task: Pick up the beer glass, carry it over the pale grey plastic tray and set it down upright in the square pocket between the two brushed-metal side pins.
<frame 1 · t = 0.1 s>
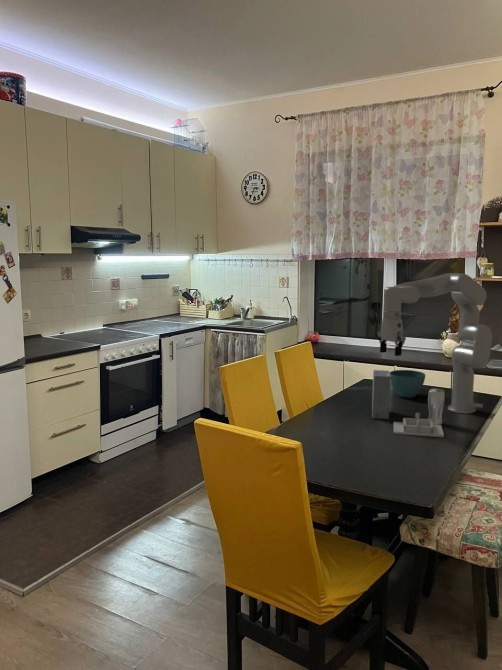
hand: (390, 353, 245), 31 cm above the table, tool pointing down, fingers open, 9 cm apart
tray: (417, 430, 238), on the table
hard drive box: (380, 415, 262), on the table
teal bowl: (406, 396, 297), on the table
beer glass: (435, 423, 248), on the table
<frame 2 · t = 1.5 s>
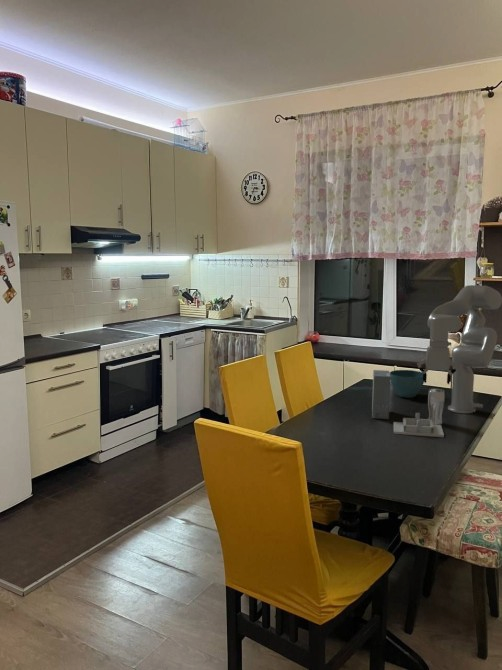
hand: (436, 382, 245), 18 cm above the table, tool pointing down, fingers open, 9 cm apart
nothing on the table moved.
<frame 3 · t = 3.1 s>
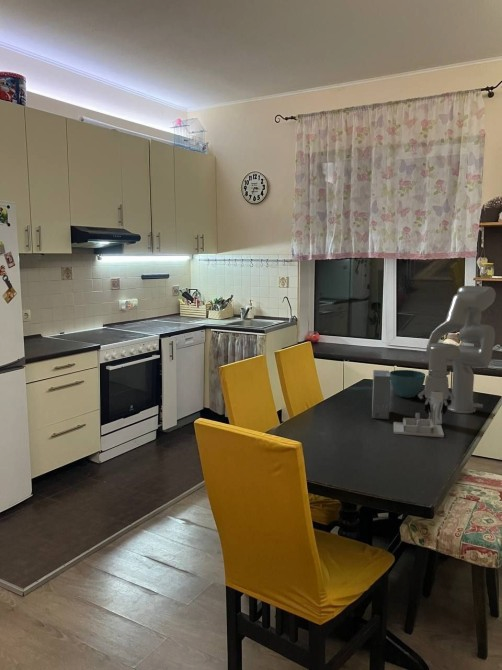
hand: (435, 412, 247), 5 cm above the table, tool pointing down, fingers closed on beer glass, 6 cm apart
beer glass: (435, 423, 248), on the table, touching gripper
everything else where it was.
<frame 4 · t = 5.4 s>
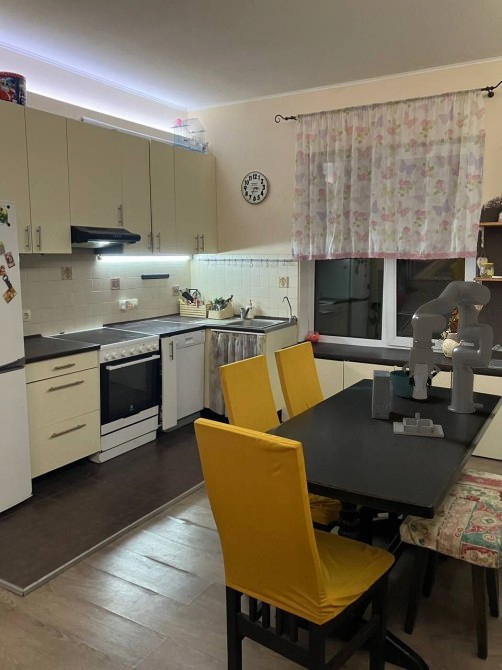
hand: (420, 386, 235), 19 cm above the table, tool pointing down, fingers closed on beer glass, 6 cm apart
beer glass: (419, 397, 236), point 14 cm above the table, touching gripper
everything else where it was.
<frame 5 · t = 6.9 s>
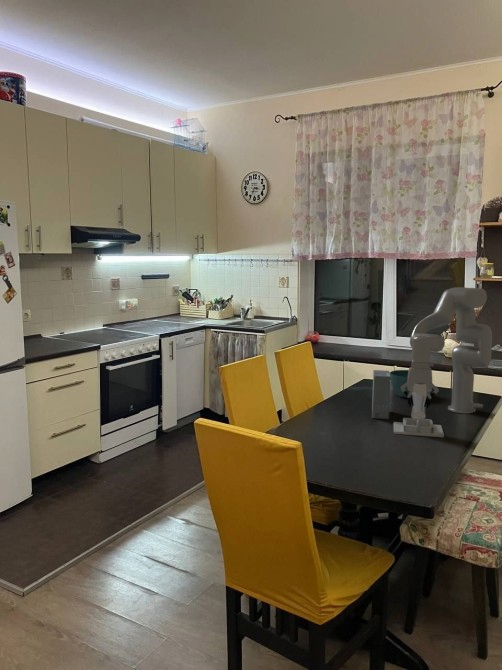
hand: (418, 406, 236), 11 cm above the table, tool pointing down, fingers closed on beer glass, 6 cm apart
beer glass: (418, 417, 237), point 6 cm above the table, touching gripper
everything else where it was.
when the fingers open (8 cm above the table, at t = 8.0 s): beer glass drops 2 cm, resting on tray.
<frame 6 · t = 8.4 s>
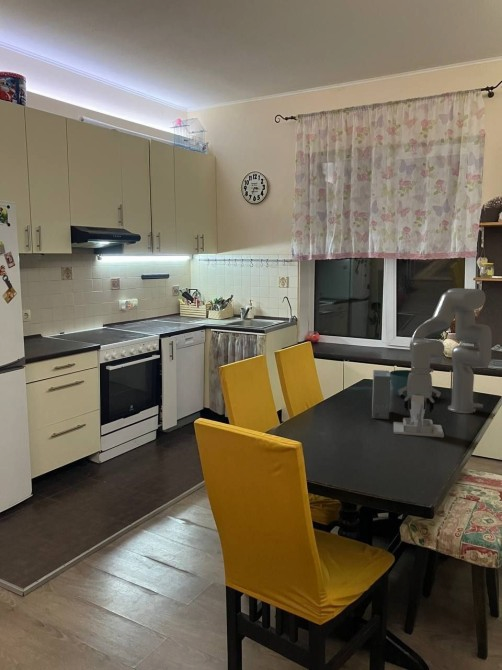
hand: (418, 410, 236), 9 cm above the table, tool pointing down, fingers open, 9 cm apart
beer glass: (416, 428, 238), point 1 cm above the table, touching tray
everything else where it was.
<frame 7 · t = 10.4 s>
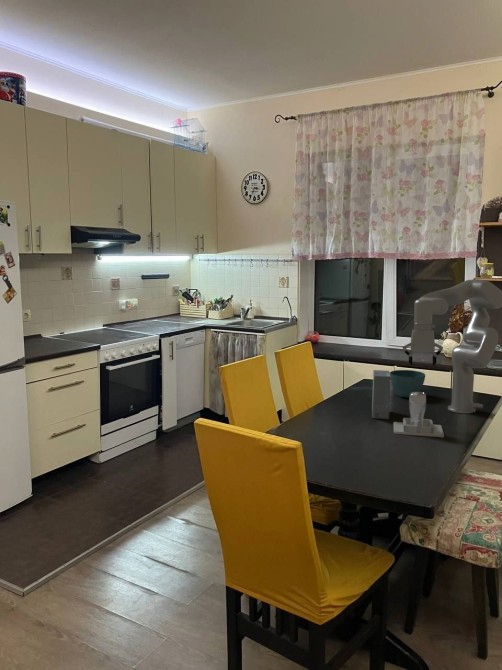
hand: (422, 365, 249), 25 cm above the table, tool pointing down, fingers open, 9 cm apart
nothing on the table moved.
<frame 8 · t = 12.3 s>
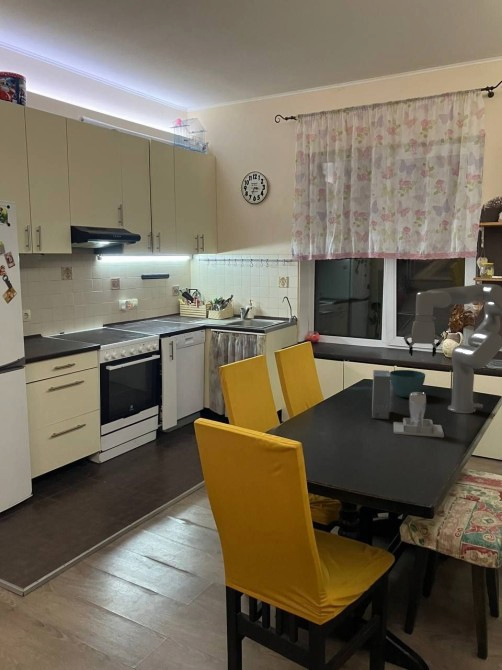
hand: (422, 355, 256), 28 cm above the table, tool pointing down, fingers open, 9 cm apart
nothing on the table moved.
at the end: beer glass 0.7 cm off-centre on the tray, point 0.8 cm above the tray's base; beer glass tilted 0°; the gripper is holding nothing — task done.
